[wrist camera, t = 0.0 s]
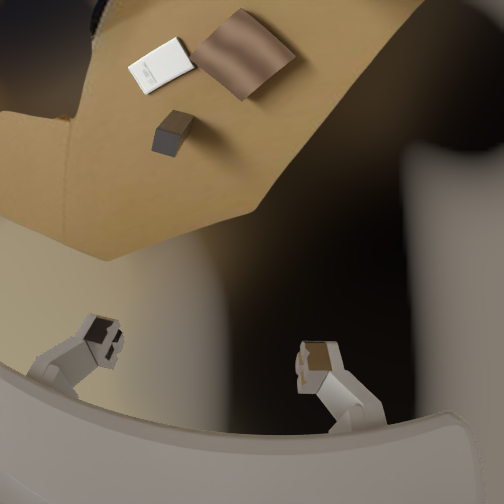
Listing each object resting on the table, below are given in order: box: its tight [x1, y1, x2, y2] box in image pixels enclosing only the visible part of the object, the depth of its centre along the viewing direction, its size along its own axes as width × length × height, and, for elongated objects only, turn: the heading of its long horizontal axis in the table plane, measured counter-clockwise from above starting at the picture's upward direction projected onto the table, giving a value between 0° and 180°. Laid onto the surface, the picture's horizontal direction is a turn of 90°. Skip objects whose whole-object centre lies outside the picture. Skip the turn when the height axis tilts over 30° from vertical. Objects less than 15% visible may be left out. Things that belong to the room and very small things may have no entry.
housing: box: [152, 110, 194, 157], centre depth 50 cm, size 5×5×11 cm
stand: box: [188, 8, 296, 101], centre depth 40 cm, size 14×14×4 cm
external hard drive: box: [128, 37, 195, 95], centre depth 43 cm, size 2×8×12 cm
